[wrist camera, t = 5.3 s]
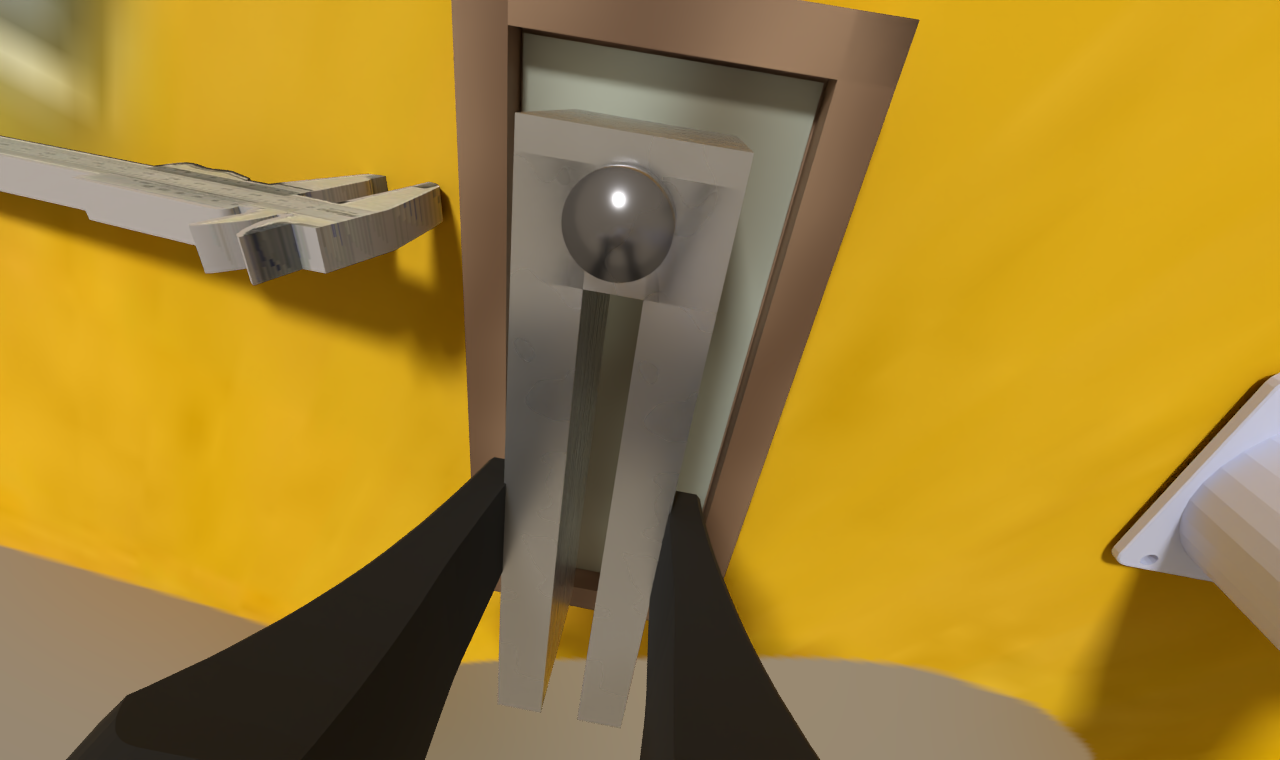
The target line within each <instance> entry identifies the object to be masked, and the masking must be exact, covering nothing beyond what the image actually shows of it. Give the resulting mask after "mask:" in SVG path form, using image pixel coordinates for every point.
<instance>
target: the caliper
mask: <svg viewBox="0 0 1280 760" xmlns="http://www.w3.org/2000/svg"><path fill="white" fill-rule="evenodd" d="M0 191H2V192H7V193H11V194H15V195H20V196H24V197H29V198H33V199H37V200H42V201H46V202H50V203H55V204H59V205H64V206H68V207H72V208H77V209H81V210H85V211H86V213H87V215H88V217H89V220H93V221H97V222H101V223H105V224H109V225H113V226H117V227H122V228H126V229H130V230H134V231H138V232H142V233H146V234H150V235H154V236H159V237H163V238H167V239H171V240H175V241H179V242H183V243H187V244H191V245H195V246H196V248H197V251H198V254H199V256H200V259H201V262H202V265H203V268H204V271H205V273H218V272H225V271H232V270H240V269H247V271H248V274H249V278H250V281H251V283H252V284H253V286H254V285H257V284H259V283H262V282H265V281H268V280H271V279H274V278H277V277H280V276H283V275H286V274H289V273H292V272H295V271H298V270H301V269H306V270H311V271H316V272H321V273H329V272H332V271H335V270H338V269H341V268H344V267H347V266H350V265H353V264H356V263H359V262H362V261H364V260H367V259H370V258H373V257H376V256H379V255H382V254H385V253H388V252H391V251H394V250H396V249H398V248H400V247H401V246H403V245H405V244H407V243H408V242H410V241H412V240H413V239H415V238H417V237H419V236H420V235H422V234H424V233H425V232H427V231H429V230H431V229H432V228H434V227H435V226H437V225H438V224H440V223H441V222H443V215H442V205H441V195H440V186H438V185H437V184H435V183H431V182H426V183H422V184H418V185H414V186H410V187H406V188H401V189H397V190H392V191H388V188H387V182H386V176H381V175H373V174H362V175H352V176H342V177H332V178H322V179H313V180H303V181H293V182H283V183H273V184H267V183H262V182H256V181H251V180H250V178H248V177H246V176H243V175H241V174H238V173H236V172H234V171H229V170H220V169H211V168H207V167H204V166H201V165H198V164H194V163H187V162H186V163H173V164H165V165H156V166H152V165H147V164H142V163H137V162H132V161H127V160H122V159H117V158H112V157H106V156H101V155H96V154H91V153H86V152H81V151H76V150H71V149H66V148H61V147H56V146H51V145H45V144H40V143H35V142H30V141H25V140H20V139H15V138H10V137H5V136H0Z"/></svg>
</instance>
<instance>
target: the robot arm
mask: <svg viewBox="0 0 1280 760" xmlns="http://www.w3.org/2000/svg"><path fill="white" fill-rule="evenodd" d="M504 469H505V459H502V458H497V457H493V458H492V459H490V460H489V461H488V462H487V463H486V464H485V465H484V466H483V467H482V468H481V469H480V470H479V471H478V472H477V473H476V474H475V475H474V476H473V477H472V478H471V479H470V480H468V481H467V482H466V483H465V484H464V485H463V486H462V487H461V488H460V489H459V490H458V491H457V492H456V493H455V494H454V495H452V496H451V497H450V498H449V499H448V500H447V501H446V502H445V503H443V504H442V505H441V506H440V507H439V508H438V509H437V510H435V511H434V512H433V513H432V514H431V515H430V516H429V517H427V518H426V519H425V520H424V521H423V522H422V523H420V524H419V525H418V526H417V527H415V528H414V529H413V530H412V531H410V532H409V533H408V534H407V535H405V536H404V537H403V538H402V539H400V540H399V541H398V542H397V543H395V544H394V545H393V546H392V547H390V548H389V549H388V550H386V551H385V552H384V553H382V554H381V555H380V556H378V557H377V558H376V559H374V560H373V561H371V562H370V563H369V564H367V565H366V566H364V567H363V568H362V569H360V570H359V571H357V572H356V573H354V574H353V575H351V576H350V577H348V578H347V579H345V580H344V581H342V582H341V583H339V584H338V585H336V586H335V587H333V588H332V589H330V590H328V591H327V592H325V593H324V594H322V595H320V596H319V597H317V598H316V599H314V600H312V601H311V602H309V603H308V604H306V605H304V606H303V607H301V608H299V609H298V610H296V611H294V612H293V613H291V614H289V615H288V616H286V617H284V618H282V619H281V620H279V621H277V622H275V623H273V624H271V625H269V626H268V627H266V628H264V629H262V630H260V631H258V632H257V633H255V634H253V635H251V636H249V637H247V638H245V639H244V640H242V641H240V642H238V643H236V644H234V645H232V646H231V647H229V648H227V649H225V650H223V651H221V652H219V653H217V654H215V655H213V656H211V657H210V658H207V659H205V660H203V661H201V662H198V663H196V664H194V665H192V666H190V667H188V668H186V669H184V670H181V671H179V672H177V673H175V674H173V675H171V676H169V677H166V678H164V679H162V680H160V681H158V682H156V683H154V684H152V685H150V686H147V687H145V688H143V689H140V690H138V691H136V692H134V693H131V694H129V695H127V696H126V697H125V698H124V699H123V700H122V701H121V702H120V703H119V704H118V705H117V706H116V707H115V708H114V709H113V710H112V711H111V712H110V713H109V714H108V715H107V716H106V717H105V718H104V719H103V720H102V721H101V722H100V723H99V724H98V725H97V726H96V727H95V728H94V730H93V731H92V732H91V733H90V734H89V735H88V736H87V737H86V738H85V739H84V741H83V742H82V743H81V744H80V745H79V746H78V747H77V748H76V749H75V750H74V752H73V753H72V754H71V755H70V756H69V757H68V758H67V759H66V760H425V758H426V755H427V752H428V749H429V746H430V743H431V740H432V738H433V735H434V732H435V729H436V726H437V723H438V721H439V718H440V715H441V712H442V710H443V707H444V704H445V701H446V698H447V696H448V693H449V690H450V687H451V685H452V682H453V679H454V677H455V675H456V672H457V670H458V667H459V665H460V663H461V660H462V658H463V656H464V654H465V652H466V649H467V647H468V645H469V643H470V641H471V639H472V637H473V634H474V632H475V630H476V628H477V626H478V624H479V622H480V619H481V617H482V615H483V613H484V611H485V609H486V607H487V604H488V602H489V600H490V598H491V596H492V594H493V591H494V589H495V587H496V585H497V583H498V581H499V578H500V576H501V574H502V572H503V548H504V522H505V496H506V483H504ZM1112 555H1113V556H1114V557H1115V559H1116V560H1117V561H1118V562H1119V563H1120V564H1122V565H1125V566H1131V567H1136V568H1142V569H1147V570H1152V571H1158V572H1163V573H1169V574H1174V575H1179V576H1185V577H1190V578H1195V579H1201V580H1206V581H1212V582H1214V583H1215V584H1216V585H1217V586H1218V587H1219V588H1220V589H1221V590H1222V591H1223V592H1224V593H1225V595H1226V596H1227V597H1228V598H1229V599H1230V600H1231V601H1232V602H1233V603H1234V604H1235V605H1236V606H1237V607H1238V608H1239V609H1240V610H1241V611H1242V612H1243V613H1244V614H1245V615H1246V616H1247V617H1248V618H1249V620H1250V621H1251V622H1252V623H1253V624H1254V625H1255V626H1256V627H1257V628H1258V629H1259V630H1260V631H1261V632H1262V633H1263V634H1264V635H1265V636H1266V637H1267V638H1268V639H1269V640H1270V641H1271V642H1272V643H1273V644H1274V646H1275V647H1276V648H1277V649H1278V650H1279V651H1280V373H1278V374H1276V375H1274V376H1272V377H1270V378H1269V379H1268V380H1267V381H1265V383H1264V384H1263V385H1262V386H1261V387H1260V388H1259V389H1258V390H1257V391H1256V392H1255V393H1254V395H1253V396H1252V397H1251V398H1250V399H1249V400H1248V401H1247V402H1246V403H1245V404H1244V405H1243V406H1242V408H1241V409H1240V410H1239V411H1238V412H1237V413H1236V414H1235V415H1234V416H1233V417H1232V418H1231V420H1230V421H1229V422H1228V423H1227V424H1226V425H1225V426H1224V427H1223V428H1222V429H1221V430H1220V432H1219V433H1218V434H1217V435H1216V436H1215V437H1214V438H1213V439H1212V440H1211V441H1210V442H1209V443H1208V445H1207V446H1206V447H1205V448H1204V449H1203V450H1202V451H1201V452H1200V453H1199V454H1198V455H1197V457H1196V458H1195V459H1194V460H1193V461H1192V462H1191V463H1190V464H1189V465H1188V466H1187V467H1186V468H1185V470H1184V471H1183V472H1182V473H1181V474H1180V475H1179V476H1178V477H1177V478H1176V479H1175V480H1174V482H1173V483H1172V484H1171V485H1170V486H1169V487H1168V488H1167V489H1166V490H1165V491H1164V492H1163V493H1162V495H1161V496H1160V497H1159V498H1158V499H1157V500H1156V501H1155V502H1154V503H1153V504H1152V505H1151V507H1150V508H1149V509H1148V510H1147V511H1146V512H1145V513H1144V514H1143V515H1142V516H1141V517H1140V518H1139V520H1138V521H1137V522H1136V523H1135V524H1134V525H1133V526H1132V527H1131V528H1130V529H1129V530H1128V532H1127V533H1126V534H1125V535H1124V536H1123V537H1122V538H1121V539H1120V540H1119V541H1118V542H1117V543H1116V545H1115V546H1114V547H1113V549H1112ZM640 760H820V759H819V757H818V756H817V754H816V753H815V751H814V750H813V749H812V747H811V746H810V744H809V742H808V741H807V739H806V738H805V736H804V734H803V733H802V731H801V730H800V728H799V726H798V725H797V723H796V721H795V720H794V718H793V717H792V715H791V713H790V712H789V710H788V708H787V707H786V705H785V704H784V702H783V700H782V699H781V697H780V695H779V694H778V692H777V690H776V689H775V687H774V685H773V683H772V681H771V679H770V678H769V676H768V674H767V672H766V670H765V669H764V667H763V665H762V663H761V661H760V659H759V657H758V655H757V653H756V651H755V649H754V647H753V645H752V643H751V641H750V639H749V637H748V635H747V633H746V631H745V629H744V627H743V625H742V622H741V620H740V618H739V616H738V613H737V611H736V609H735V606H734V604H733V602H732V599H731V597H730V594H729V592H728V589H727V587H726V584H725V582H724V579H723V576H722V574H721V571H720V568H719V565H718V563H717V560H716V557H715V554H714V551H713V548H712V545H711V541H710V538H709V535H708V531H707V528H706V524H705V520H704V516H703V512H702V507H701V501H700V498H699V497H698V496H697V494H691V493H686V492H681V491H676V492H675V496H674V500H673V505H672V509H671V513H670V514H669V515H668V519H667V523H666V528H665V532H664V537H663V541H662V546H661V550H660V555H659V559H658V564H657V568H656V573H655V577H654V582H653V586H652V590H651V595H650V599H649V628H648V659H647V691H646V708H645V721H644V729H643V739H642V747H641V755H640Z"/></svg>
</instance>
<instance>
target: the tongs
mask: <svg viewBox="0 0 1280 760" xmlns="http://www.w3.org/2000/svg"><path fill="white" fill-rule="evenodd" d="M753 156H754V152H753V151H752V150H751V149H750V148H749V147H748V146H747V145H746V144H745V143H744V142H743V141H742V140H741V139H740V138H739V137H738V136H733V135H727V134H721V133H715V132H709V131H704V130H698V129H692V128H686V127H680V126H674V125H668V124H662V123H656V122H650V121H644V120H639V119H633V118H627V117H621V116H615V115H609V114H603V113H597V112H591V111H585V110H579V109H563V110H547V111H530V112H515V129H514V163H513V197H512V231H511V265H510V299H509V333H508V367H507V401H506V435H505V469H504V483H506V496H505V522H504V548H503V572H502V574H501V605H500V639H499V673H498V675H499V676H498V704H499V705H504V706H509V707H514V708H519V709H524V710H529V711H535V712H540V713H541V710H542V706H543V703H544V699H545V695H546V691H547V687H548V684H549V680H550V676H551V672H552V668H553V665H554V661H555V657H556V653H557V649H558V646H559V642H560V638H561V634H562V631H563V627H564V623H565V619H566V615H567V612H568V608H569V604H570V600H571V596H572V593H573V585H574V577H575V569H576V561H577V553H578V545H579V538H580V530H581V522H582V514H583V506H584V498H585V490H586V482H587V474H588V466H589V458H590V450H591V442H592V434H593V426H594V418H595V410H596V402H597V394H598V386H599V378H600V370H601V362H602V354H603V346H604V338H605V330H606V323H607V315H608V307H609V299H610V294H612V295H618V296H623V297H629V298H635V299H640V300H644V301H643V307H642V313H641V320H640V326H639V332H638V338H637V345H636V351H635V357H634V364H633V370H632V376H631V383H630V389H629V395H628V402H627V408H626V414H625V420H624V427H623V433H622V439H621V446H620V452H619V458H618V465H617V471H616V477H615V483H614V490H613V496H612V502H611V509H610V515H609V521H608V528H607V534H606V540H605V547H604V553H603V559H602V565H601V572H600V578H599V584H598V591H597V597H596V603H595V610H594V616H593V622H592V629H591V635H590V641H589V647H588V654H587V660H586V666H585V673H584V680H583V685H582V692H581V698H580V704H579V711H578V717H577V720H581V721H586V722H591V723H597V724H601V725H607V726H612V727H617V728H621V724H622V720H623V715H624V711H625V707H626V703H627V699H628V694H629V690H630V685H631V681H632V676H633V672H634V668H635V664H636V660H637V655H638V651H639V647H640V643H641V638H642V634H643V630H644V625H645V621H646V617H647V612H648V608H649V599H650V595H651V590H652V586H653V582H654V577H655V573H656V568H657V564H658V559H659V555H660V550H661V546H662V541H663V537H664V532H665V528H666V523H667V519H668V515H669V514H670V513H671V509H672V505H673V500H674V496H675V492H676V487H677V483H678V479H679V475H680V470H681V466H682V462H683V457H684V453H685V449H686V444H687V440H688V436H689V431H690V427H691V423H692V419H693V414H694V410H695V406H696V401H697V397H698V393H699V388H700V384H701V380H702V375H703V371H704V367H705V363H706V358H707V354H708V350H709V345H710V341H711V337H712V332H713V328H714V324H715V320H716V315H717V311H718V307H719V302H720V298H721V294H722V289H723V285H724V281H725V276H726V272H727V268H728V264H729V259H730V255H731V251H732V246H733V242H734V238H735V233H736V229H737V225H738V220H739V216H740V212H741V208H742V203H743V199H744V195H745V190H746V186H747V182H748V177H749V173H750V169H751V164H752V160H753Z"/></svg>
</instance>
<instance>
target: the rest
mask: <svg viewBox="0 0 1280 760" xmlns="http://www.w3.org/2000/svg"><path fill="white" fill-rule="evenodd" d="M918 23H919V20H917V19H911V18H905V17H899V16H892V15H886V14H880V13H874V12H868V11H862V10H856V9H850V8H844V7H837V6H831V5H825V4H819V3H813V2H807V1H801V0H452V25H453V49H454V73H455V98H456V122H457V146H458V171H459V195H460V219H461V244H462V268H463V292H464V317H465V341H466V365H467V390H468V414H469V438H470V463H471V478H472V477H473V476H474V475H475V474H476V473H477V472H478V471H479V470H480V469H481V468H482V467H483V466H484V465H485V464H486V463H487V462H488V461H489V460H490V459H492V458H493V457H497V458H502V459H505V435H506V401H507V367H508V333H509V299H510V265H511V231H512V197H513V163H514V129H515V112H530V111H547V110H563V109H579V110H585V111H591V112H597V113H603V114H609V115H615V116H621V117H627V118H633V119H639V120H644V121H650V122H656V123H662V124H668V125H674V126H680V127H686V128H692V129H698V130H704V131H709V132H715V133H721V134H727V135H733V136H738V137H739V138H740V139H741V140H742V141H743V142H744V143H745V144H746V145H747V146H748V147H749V148H750V149H751V150H752V151H753V152H754V156H753V160H752V164H751V169H750V173H749V177H748V182H747V186H746V190H745V195H744V199H743V203H742V208H741V212H740V216H739V220H738V225H737V229H736V233H735V238H734V242H733V246H732V251H731V255H730V259H729V264H728V268H727V272H726V276H725V281H724V285H723V289H722V294H721V298H720V302H719V307H718V311H717V315H716V320H715V324H714V328H713V332H712V337H711V341H710V345H709V350H708V354H707V358H706V363H705V367H704V371H703V375H702V380H701V384H700V388H699V393H698V397H697V401H696V406H695V410H694V414H693V419H692V423H691V427H690V431H689V436H688V440H687V444H686V449H685V453H684V457H683V462H682V466H681V470H680V475H679V479H678V483H677V487H676V491H681V492H686V493H691V494H697V496H698V497H699V498H700V501H701V507H702V512H703V516H704V520H705V524H706V528H707V531H708V535H709V538H710V541H711V545H712V548H713V551H714V554H715V557H716V560H717V563H718V565H719V568H720V571H721V574H722V576H723V579H724V576H725V573H726V570H727V567H728V565H729V562H730V559H731V556H732V553H733V550H734V547H735V545H736V542H737V539H738V536H739V533H740V530H741V527H742V525H743V522H744V519H745V516H746V513H747V510H748V507H749V505H750V502H751V499H752V496H753V493H754V490H755V488H756V485H757V482H758V479H759V476H760V473H761V470H762V468H763V465H764V462H765V459H766V456H767V453H768V450H769V448H770V445H771V442H772V439H773V436H774V433H775V430H776V428H777V425H778V422H779V419H780V416H781V413H782V411H783V408H784V405H785V402H786V399H787V396H788V393H789V391H790V388H791V385H792V382H793V379H794V376H795V373H796V371H797V368H798V365H799V362H800V359H801V356H802V353H803V351H804V348H805V345H806V342H807V339H808V336H809V334H810V331H811V328H812V325H813V322H814V319H815V316H816V314H817V311H818V308H819V305H820V302H821V299H822V296H823V294H824V291H825V288H826V285H827V282H828V279H829V276H830V274H831V271H832V268H833V265H834V262H835V259H836V257H837V254H838V251H839V248H840V245H841V242H842V239H843V237H844V234H845V231H846V228H847V225H848V222H849V219H850V217H851V214H852V211H853V208H854V205H855V202H856V199H857V197H858V194H859V191H860V188H861V185H862V182H863V180H864V177H865V174H866V171H867V168H868V165H869V162H870V160H871V157H872V154H873V151H874V148H875V145H876V142H877V140H878V137H879V134H880V131H881V128H882V125H883V122H884V120H885V117H886V114H887V111H888V108H889V105H890V103H891V100H892V97H893V94H894V91H895V88H896V85H897V83H898V80H899V77H900V74H901V71H902V68H903V65H904V63H905V60H906V57H907V54H908V51H909V48H910V45H911V43H912V40H913V37H914V34H915V31H916V28H917V26H918ZM643 301H644V300H640V299H635V298H629V297H623V296H618V295H612V294H610V299H609V307H608V315H607V323H606V330H605V338H604V346H603V354H602V362H601V370H600V378H599V386H598V394H597V402H596V410H595V418H594V426H593V434H592V442H591V450H590V458H589V466H588V474H587V482H586V490H585V498H584V506H583V514H582V522H581V530H580V538H579V545H578V553H577V561H576V569H575V577H574V585H573V593H572V596H571V600H570V604H569V605H571V606H576V607H581V608H586V609H592V610H595V603H596V597H597V591H598V584H599V578H600V572H601V565H602V559H603V553H604V547H605V540H606V534H607V528H608V521H609V515H610V509H611V502H612V496H613V490H614V483H615V477H616V471H617V465H618V458H619V452H620V446H621V439H622V433H623V427H624V420H625V414H626V408H627V402H628V395H629V389H630V383H631V376H632V370H633V364H634V357H635V351H636V345H637V338H638V332H639V326H640V320H641V313H642V307H643ZM494 591H498V592H501V576H500V578H499V581H498V583H497V585H496V587H495V589H494ZM646 620H649V608H648V612H647V617H646Z"/></svg>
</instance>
